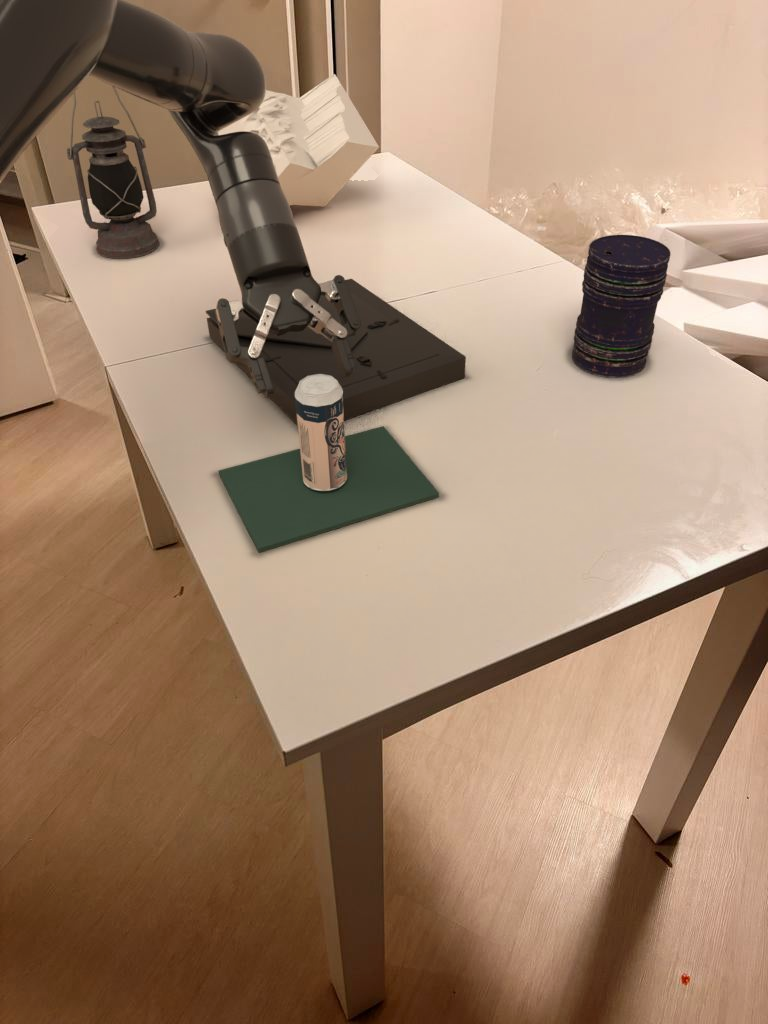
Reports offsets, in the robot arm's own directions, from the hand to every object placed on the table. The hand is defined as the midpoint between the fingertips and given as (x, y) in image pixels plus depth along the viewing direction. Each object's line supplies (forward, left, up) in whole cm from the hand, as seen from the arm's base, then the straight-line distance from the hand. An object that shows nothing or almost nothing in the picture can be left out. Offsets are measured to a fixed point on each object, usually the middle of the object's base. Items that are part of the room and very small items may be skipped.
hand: (309, 386), depth 83 cm
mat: (0, -4, -10) cm, 11 cm away
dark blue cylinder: (+44, +5, -11) cm, 45 cm away
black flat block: (+11, +22, -11) cm, 27 cm away
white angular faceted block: (+17, +84, -5) cm, 86 cm away
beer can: (0, -4, -10) cm, 11 cm away
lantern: (-6, +73, -11) cm, 74 cm away
